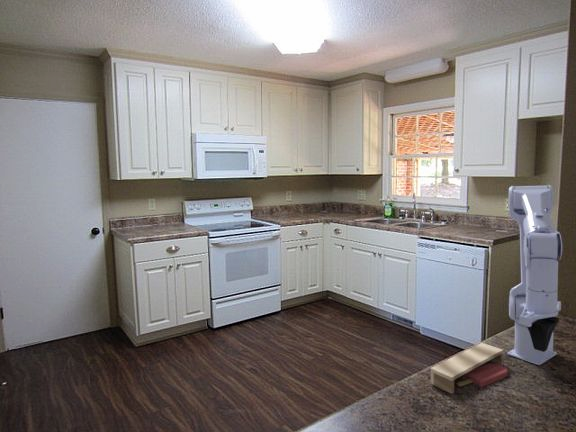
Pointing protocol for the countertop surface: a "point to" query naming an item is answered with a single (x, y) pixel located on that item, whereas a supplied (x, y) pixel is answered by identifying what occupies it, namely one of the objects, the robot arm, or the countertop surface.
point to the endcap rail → (463, 365)
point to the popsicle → (484, 375)
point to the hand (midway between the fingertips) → (540, 349)
